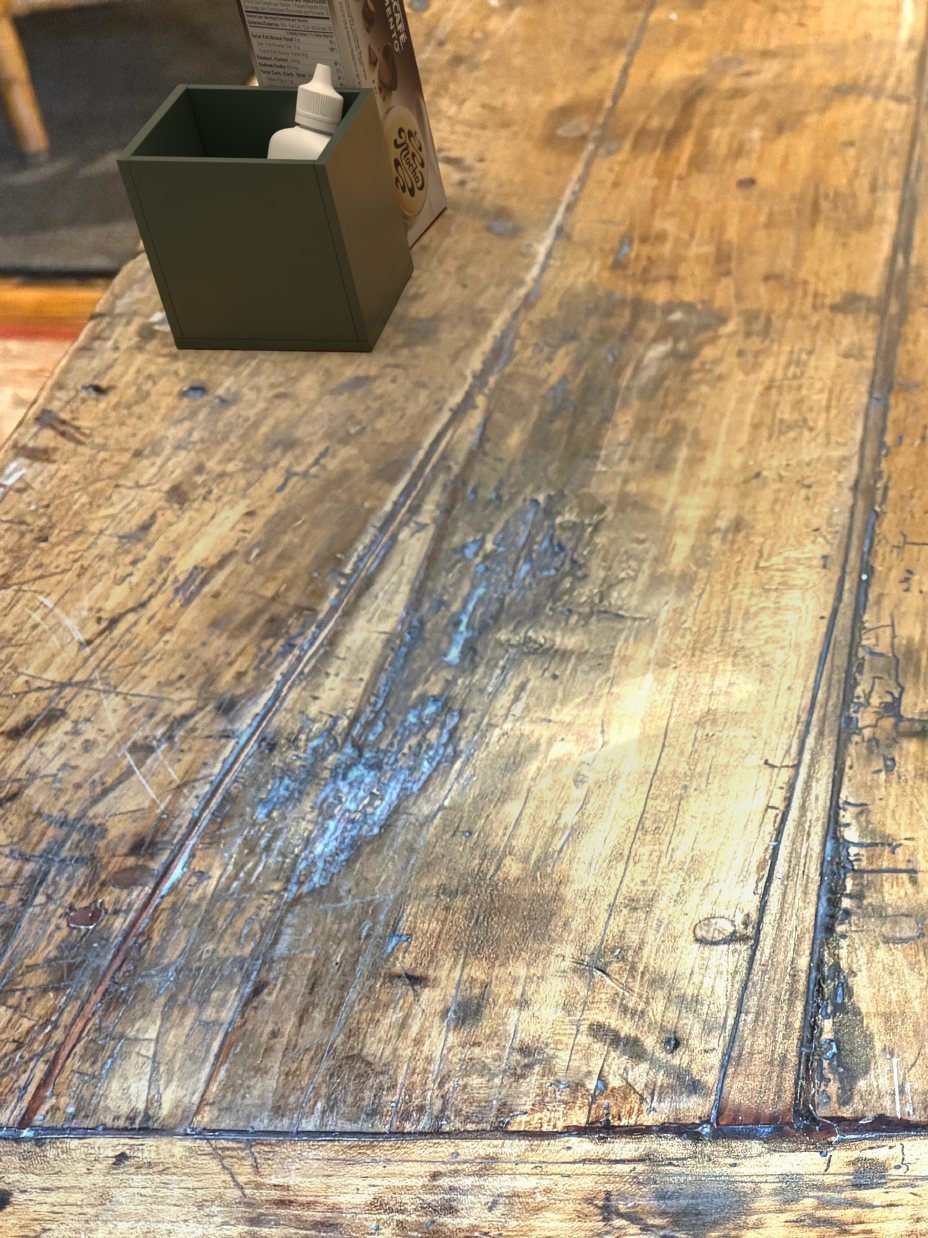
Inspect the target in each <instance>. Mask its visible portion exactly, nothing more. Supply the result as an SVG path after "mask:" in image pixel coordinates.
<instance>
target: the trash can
mask: <svg viewBox="0 0 928 1238" xmlns="http://www.w3.org/2000/svg"><path fill="white" fill-rule="evenodd" d="M333 89H334V90H335V91H336V92H337V93H338V94H339V95H340V96H342V98H343V108H342V117H341V123H340V125H339V126H338V128H337V129H336V131H335V132H334V134H333V135H332V137H331V138H330V140H329V142H328V143H327V145H326V146H325V148H324V149H323V151H322V152H321V154H320V155H319V157H318V158H317V160H305V159H267V158H268V150H269V144H270V140H271V138H272V136H273V135H274V134H275V133H276V132H278V131H280V130H283V129H288V128H294V127H295V126H297V125H299V126H300V123H297V122H295V116H296V106H297V96H298V87H293V86H258V85H242V84H240V85H239V84H236V85H235V84H197V83H196V84H195V83H193V84H192V83H191V84H188V83H179V84H177V86H176V87H175V88H174V90H172V91H171V93H170V94H169V95H168V97H167V98H166V99H165V100H164V102H162V104H161V105H160V106H159V107H158V109H157V110H156V111H155V112H154V114H152V116H151V117H150V118H149V120H147V122H146V123H145V124H144V125H143V127H142V128H141V129H140V130H139V132H138V133H137V134H136V135H135V136H134V137H133V139H132V140H131V141H130V142H129V144H128V145H127V146H126V147H125V148H124V149H123V151H122V152H121V153H120V154H119V156H117V158H116V159H115V162H116V165H117V168H118V171H119V174H120V177H121V180H122V183H123V186H124V189H125V193H126V196H127V199H128V202H129V205H130V208H131V211H132V213H133V217H134V221H135V224H136V227H137V230H138V233H139V236H140V239H141V242H142V245H143V249H144V252H145V255H146V259H147V261H148V264H149V267H150V270H151V273H152V276H153V279H154V283H155V286H156V288H157V291H158V292H157V293H158V295H159V299H160V302H161V304H162V308H163V310H164V313H165V316H166V320H167V323H168V326H169V329H170V332H171V335H172V338H173V341H174V345H175V347H176V349H193V350H195V349H197V350H202V349H203V350H251V351H252V350H257V351H259V350H261V351H309V352H312V351H313V352H315V351H316V352H322V351H323V352H364V353H365V352H366V353H367V352H372V351H373V349H374V347H375V345H376V343H377V341H378V339H379V337H380V335H381V333H382V331H383V329H384V328H385V326H386V324H387V322H388V319H389V317H390V316H391V314H392V312H393V310H394V308H395V307H396V304H397V302H398V300H399V298H400V297H401V294H402V293H403V291H404V289H405V287H406V285H407V283H408V281H409V279H410V277H411V276H412V273H413V271H414V269H415V267H414V263H413V257H412V253H411V247H410V248H409V244H408V239H407V235H406V231H405V226H404V222H403V217H402V213H401V208H400V204H399V200H398V195H397V191H396V186H395V182H394V177H393V173H392V169H391V164H390V160H389V155H388V151H387V146H386V142H385V138H384V133H383V129H382V124H381V120H380V115H379V111H378V106H377V102H376V98H375V93H374V89H373V88H340V87H333Z"/></svg>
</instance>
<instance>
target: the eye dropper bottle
mask: <svg viewBox="0 0 928 1238" xmlns="http://www.w3.org/2000/svg"><path fill="white" fill-rule="evenodd" d="M342 108H343V98H342V96H340V95H339V94H338V93H337V92H336V91H335V90H334V89H333V87H332V82H331V70H330V67H329V66H326V65H322V64H317V66H316V70H315V73H314V76H313V79H312V80H311V82H309V83H307V84H303V85H300V86H298V96H297V106H296V116H295V122H297V123H300V126H299V125H297V126H295V127H294V128H288V129H283V130H280V131H278V132H276V133H275V134H274V135H273V136H272V138H271V140H270V144H269V150H268V158H267V159H305V160H317V158H318V157H319V155H320V154H321V152H322V151H323V149H324V148H325V146H326V145H327V143H328V142H329V140H330V138H331V137H332V135H333V134H334V132H335V131H336V129H337V128H338V126H339V125H340V123H341V117H342Z"/></svg>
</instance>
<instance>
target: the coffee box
mask: <svg viewBox="0 0 928 1238" xmlns="http://www.w3.org/2000/svg"><path fill="white" fill-rule="evenodd" d="M235 3H236V6H237V11H238V15H239V18H240V22H241V26H242V30H243V33H244V38H245V41H246V44H247V49H248V51H249V52H248V53H249V55H250V58H251V63H252V66H253V70H254V74H255V78H256V81H257V86H293V87H298V86H300V85H303V84H307V83H309V82H311V80H312V79H313V76H314V73H315V70H316V66H317V64H322V65H326V66H329V67H330V70H331V82H332V87H340V88H373V89H374V93H375V98H376V102H377V106H378V111H379V115H380V120H381V124H382V129H383V133H384V138H385V142H386V146H387V151H388V155H389V160H390V164H391V169H392V173H393V177H394V182H395V186H396V191H397V195H398V200H399V204H400V208H401V213H402V217H403V222H404V226H405V231H406V235H407V239H408V244H409V248H410V249H411V247H412V246H413V244H415V242H416V241H417V240H418V239H419V237H421V235H422V234H423V233H424V232H425V231H426V229H428V227H429V226H430V225H431V224H432V223H433V222H434V220H435V219H436V218H437V217H438V215H440V214H441V212H442V211H443V210H444V209H445V208H446V206H447V205H448V200H447V195H446V191H445V187H444V183H443V179H442V173H441V169H440V165H439V160H438V155H437V151H436V147H435V141H434V137H433V132H432V128H431V123H430V119H429V115H428V109H427V105H426V100H425V96H424V92H423V86H422V81H421V76H420V72H419V67H418V63H417V58H416V55H415V53H416V52H415V48H414V45H413V39H412V35H411V30H410V26H409V20H408V17H407V13H406V12H407V11H406V7H405V3H404V0H235Z"/></svg>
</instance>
